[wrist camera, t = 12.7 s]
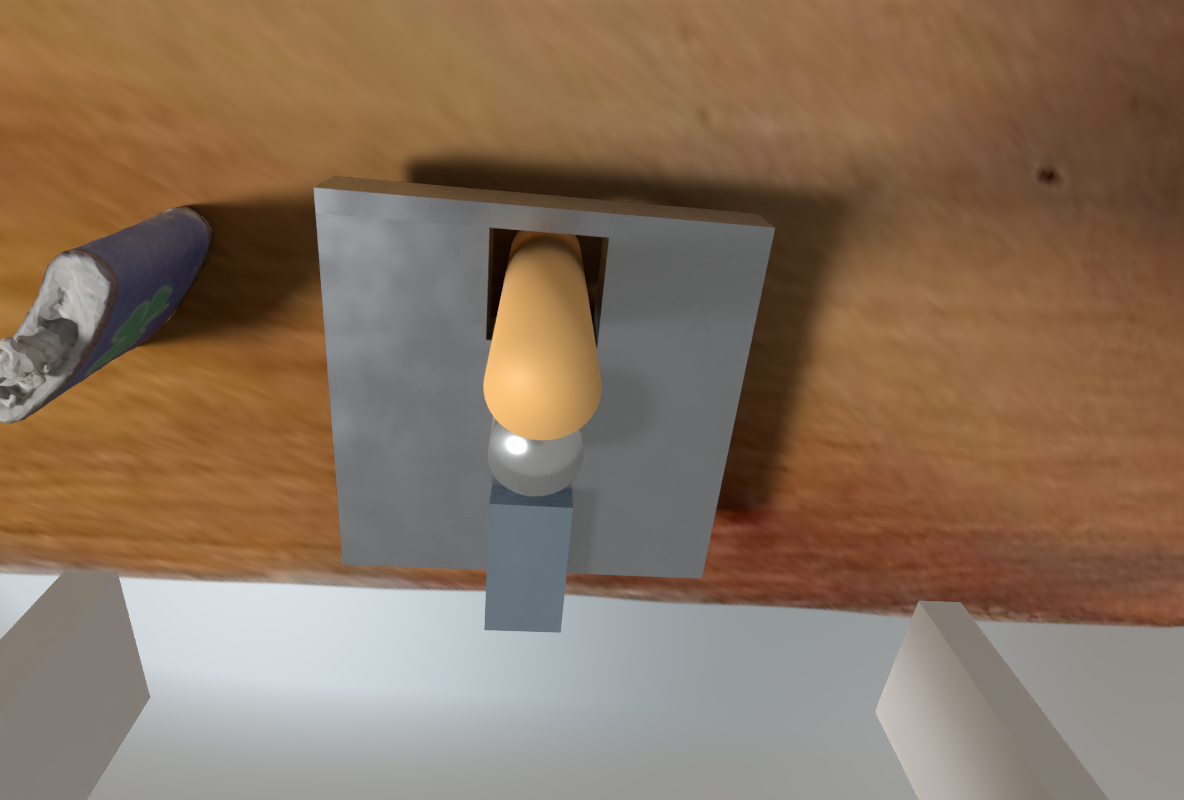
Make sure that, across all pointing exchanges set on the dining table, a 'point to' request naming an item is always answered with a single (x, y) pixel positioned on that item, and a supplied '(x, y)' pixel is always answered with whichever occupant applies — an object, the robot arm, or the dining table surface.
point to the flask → (100, 307)
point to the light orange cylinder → (543, 341)
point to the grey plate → (471, 433)
